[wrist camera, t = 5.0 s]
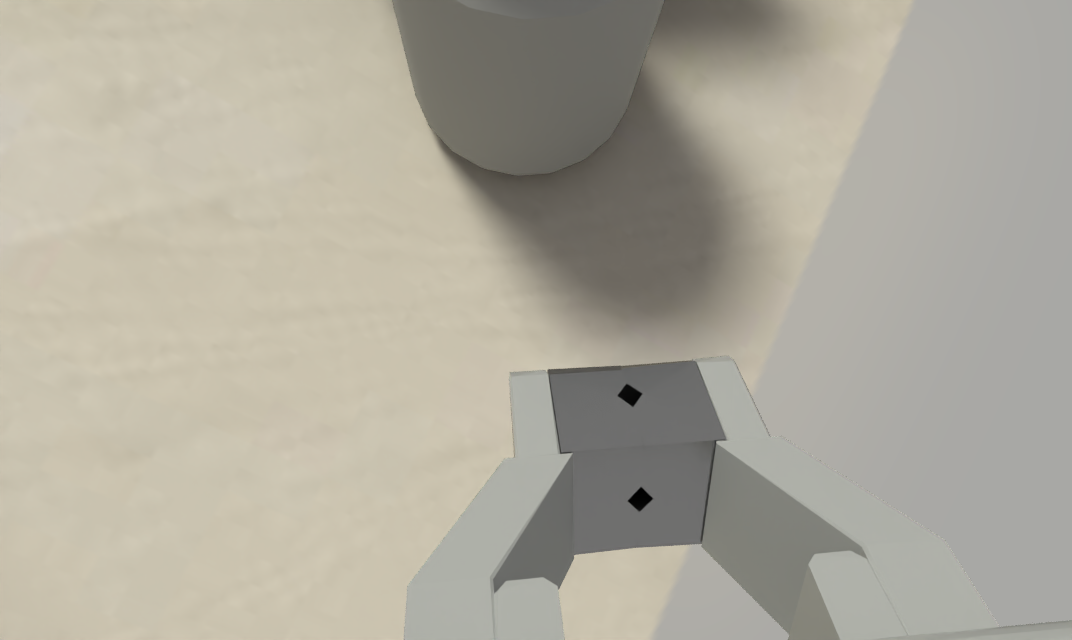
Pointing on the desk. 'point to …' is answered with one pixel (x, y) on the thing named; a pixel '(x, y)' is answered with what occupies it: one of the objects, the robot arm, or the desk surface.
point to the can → (525, 75)
